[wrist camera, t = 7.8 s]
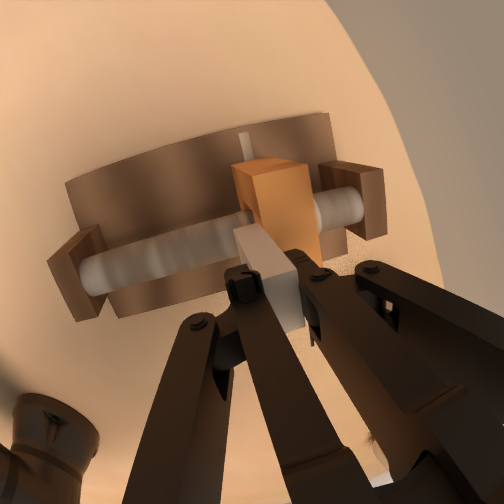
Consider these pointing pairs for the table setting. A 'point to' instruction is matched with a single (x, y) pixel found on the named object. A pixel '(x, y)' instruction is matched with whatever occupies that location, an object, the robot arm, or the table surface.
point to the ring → (280, 202)
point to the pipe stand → (198, 215)
